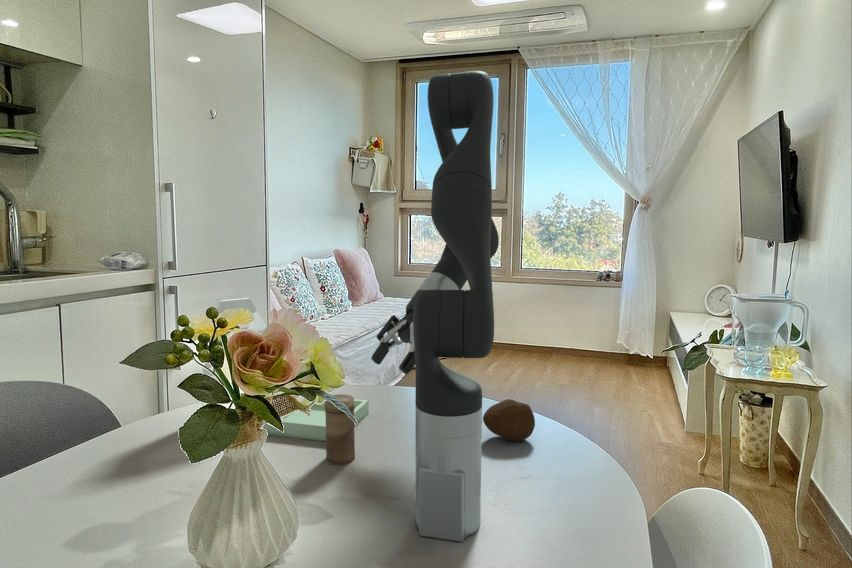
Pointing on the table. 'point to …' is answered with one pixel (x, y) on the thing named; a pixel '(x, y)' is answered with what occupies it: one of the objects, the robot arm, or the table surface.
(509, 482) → the table surface
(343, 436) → the pepper mill
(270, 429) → the bin
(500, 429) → the potato
